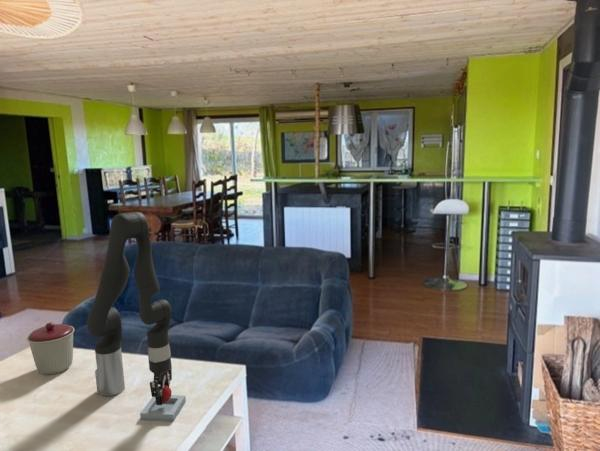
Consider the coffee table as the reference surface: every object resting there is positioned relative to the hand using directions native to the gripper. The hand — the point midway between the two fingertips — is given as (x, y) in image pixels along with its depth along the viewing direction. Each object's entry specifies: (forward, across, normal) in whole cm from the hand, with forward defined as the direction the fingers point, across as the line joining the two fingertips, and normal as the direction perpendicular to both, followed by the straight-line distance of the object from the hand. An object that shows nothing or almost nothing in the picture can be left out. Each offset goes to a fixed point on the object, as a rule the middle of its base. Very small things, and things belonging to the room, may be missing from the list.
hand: (163, 399), depth 163 cm
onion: (+2, 0, 0) cm, 2 cm away
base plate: (+4, 0, 0) cm, 4 cm away
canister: (+4, -27, -60) cm, 66 cm away
